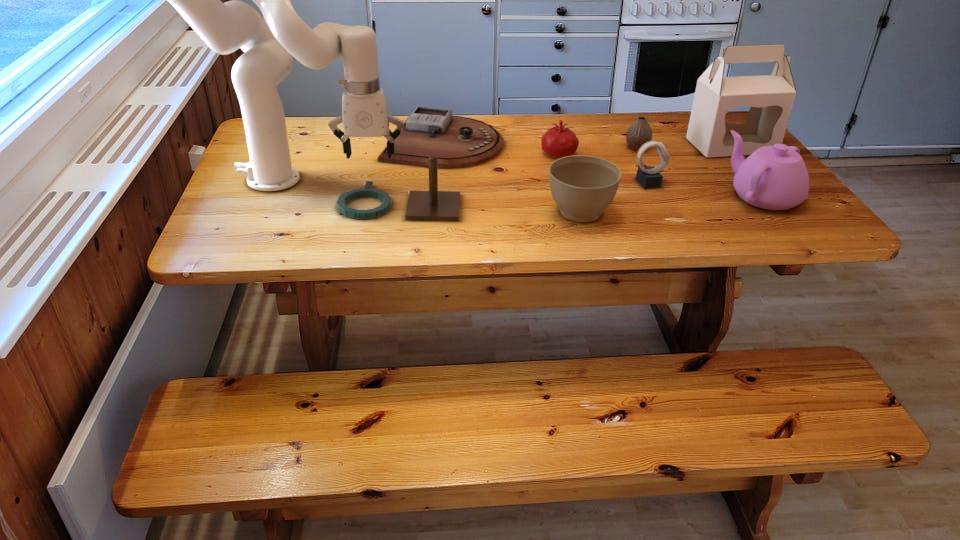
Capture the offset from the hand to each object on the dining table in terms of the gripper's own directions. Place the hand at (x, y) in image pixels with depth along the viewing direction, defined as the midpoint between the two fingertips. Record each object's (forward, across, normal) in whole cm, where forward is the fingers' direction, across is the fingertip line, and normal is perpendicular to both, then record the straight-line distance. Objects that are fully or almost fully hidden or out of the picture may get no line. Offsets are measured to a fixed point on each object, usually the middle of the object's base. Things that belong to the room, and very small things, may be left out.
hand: (369, 156), depth 167 cm
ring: (+9, -1, -6) cm, 11 cm away
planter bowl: (+10, +49, -9) cm, 51 cm away
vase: (+11, +69, +28) cm, 75 cm away
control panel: (+9, +17, +28) cm, 34 cm away
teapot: (+12, +94, +2) cm, 95 cm away
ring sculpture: (+11, +68, +7) cm, 69 cm away
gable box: (+11, +96, +31) cm, 102 cm away
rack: (+9, +15, -8) cm, 20 cm away
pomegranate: (+10, +47, +23) cm, 53 cm away
